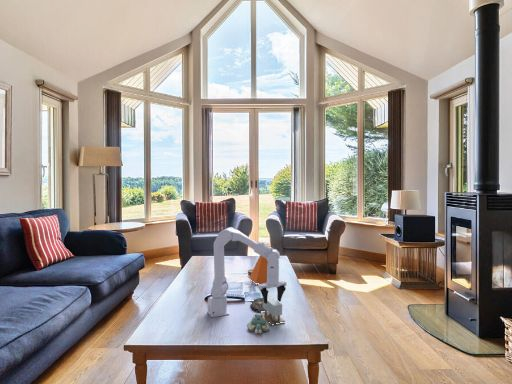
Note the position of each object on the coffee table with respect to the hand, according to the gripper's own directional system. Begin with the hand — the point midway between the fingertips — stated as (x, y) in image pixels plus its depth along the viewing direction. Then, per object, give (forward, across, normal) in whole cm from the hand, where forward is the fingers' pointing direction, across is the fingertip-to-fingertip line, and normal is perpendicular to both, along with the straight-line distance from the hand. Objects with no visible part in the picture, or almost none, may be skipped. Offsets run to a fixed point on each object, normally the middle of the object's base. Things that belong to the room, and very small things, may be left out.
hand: (272, 301), depth 162 cm
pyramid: (+9, +24, +57) cm, 62 cm away
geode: (+9, +4, +17) cm, 20 cm away
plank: (+5, 0, 0) cm, 5 cm away
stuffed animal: (+9, -11, -7) cm, 16 cm away
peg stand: (+9, 0, 0) cm, 9 cm away
